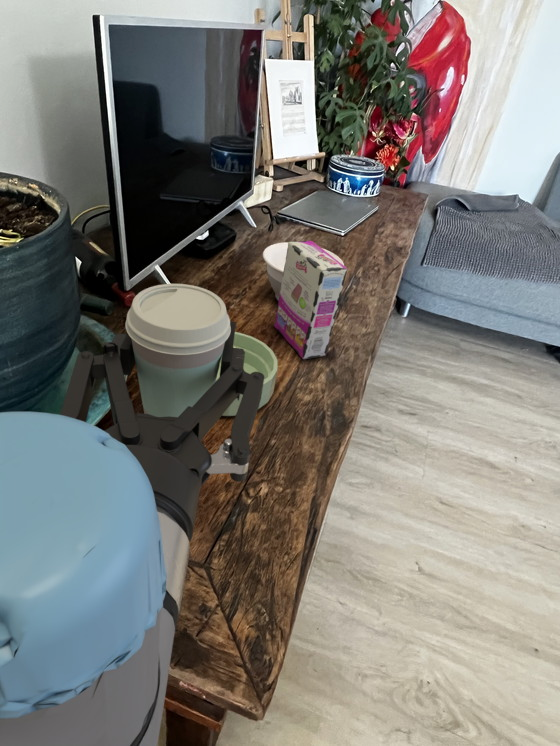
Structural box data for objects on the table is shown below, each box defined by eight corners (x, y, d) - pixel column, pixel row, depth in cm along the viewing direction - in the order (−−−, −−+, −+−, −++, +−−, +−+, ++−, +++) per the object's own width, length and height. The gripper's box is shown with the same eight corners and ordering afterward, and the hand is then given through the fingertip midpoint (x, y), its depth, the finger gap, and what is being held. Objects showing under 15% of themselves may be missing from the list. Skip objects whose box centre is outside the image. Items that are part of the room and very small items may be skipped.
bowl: (281, 323, 91) (288, 281, 86) (244, 283, 102) (249, 244, 97) (350, 312, 98) (360, 273, 93) (309, 276, 109) (317, 239, 104)
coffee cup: (195, 378, 52) (201, 274, 45) (237, 429, 47) (252, 320, 40) (115, 401, 47) (108, 289, 40) (152, 460, 42) (151, 343, 35)
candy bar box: (327, 356, 85) (349, 268, 75) (302, 361, 82) (322, 270, 73) (296, 322, 92) (313, 238, 82) (272, 326, 90) (286, 240, 80)
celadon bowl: (165, 412, 67) (165, 384, 65) (182, 351, 79) (183, 325, 76) (272, 424, 69) (277, 396, 66) (273, 362, 81) (277, 337, 78)
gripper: (-44, 556, 30) (80, 346, 48) (290, 584, 32) (287, 372, 50) (-79, 472, 25) (72, 277, 44) (312, 511, 27) (300, 307, 46)
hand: (186, 328), depth 47 cm, fingers closed on coffee cup, 8 cm apart
